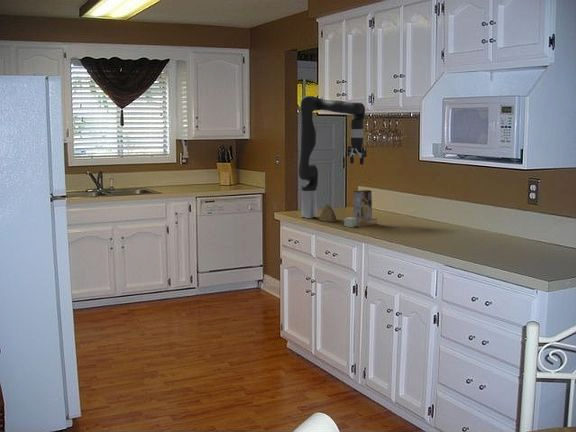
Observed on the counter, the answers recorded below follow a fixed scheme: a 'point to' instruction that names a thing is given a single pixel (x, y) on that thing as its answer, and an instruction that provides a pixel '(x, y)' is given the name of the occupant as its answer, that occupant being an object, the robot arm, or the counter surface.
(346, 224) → the sage cube
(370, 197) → the coffee box
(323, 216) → the rock
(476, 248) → the counter surface
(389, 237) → the counter surface
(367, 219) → the oak block
